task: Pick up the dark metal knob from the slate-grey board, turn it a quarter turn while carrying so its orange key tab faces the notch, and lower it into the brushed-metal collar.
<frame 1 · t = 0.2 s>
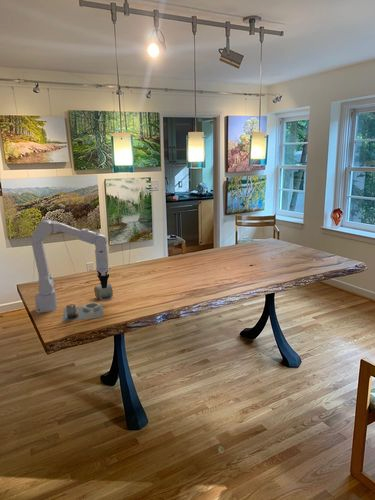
hand: (103, 285, 187), 10 cm above the table, fingers open, 7 cm apart
hub board: (83, 314, 178), on the table
ceramic mug: (105, 298, 198), on the table
knob: (71, 317, 173), point 1 cm above the table, touching hub board
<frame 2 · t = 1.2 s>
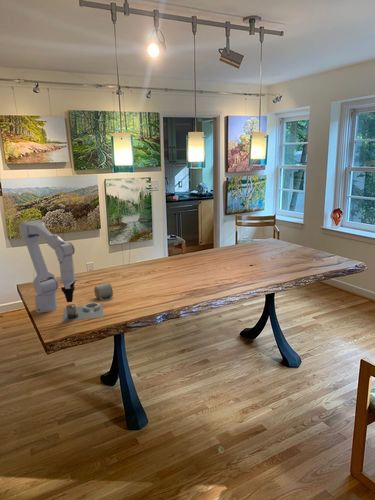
hand: (70, 299, 171), 10 cm above the table, fingers open, 7 cm apart
nothing on the table moved.
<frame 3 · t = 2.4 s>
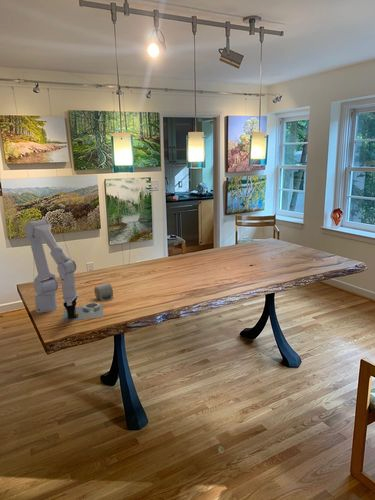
hand: (71, 314, 173), 2 cm above the table, fingers closed on knob, 4 cm apart
knob: (71, 317, 173), point 1 cm above the table, touching gripper, hub board
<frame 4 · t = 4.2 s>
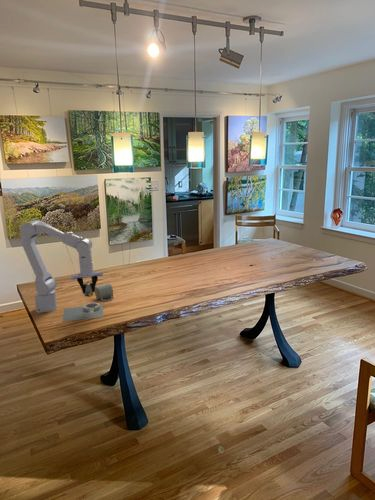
hand: (88, 292, 180), 9 cm above the table, fingers closed on knob, 4 cm apart
knob: (88, 295, 180), point 8 cm above the table, touching gripper
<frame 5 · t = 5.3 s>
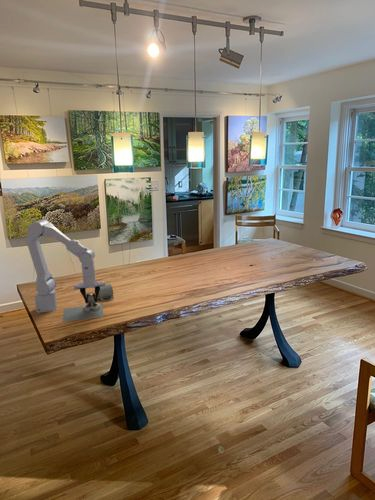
hand: (91, 302, 182), 4 cm above the table, fingers closed on knob, 4 cm apart
knob: (91, 304, 182), point 3 cm above the table, touching gripper
when the fingers open (3 cm above the table, at t = 6.0 s): knob stays where it is, resting on hub board.
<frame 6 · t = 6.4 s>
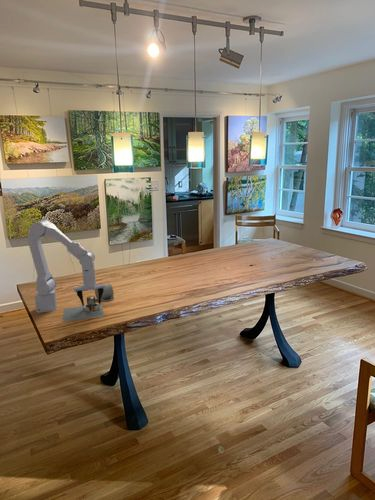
hand: (91, 304, 182), 3 cm above the table, fingers open, 7 cm apart
knob: (91, 308, 183), point 1 cm above the table, touching hub board
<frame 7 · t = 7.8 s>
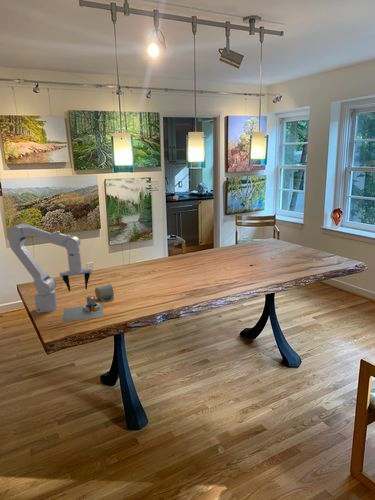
hand: (77, 289, 181), 10 cm above the table, fingers open, 7 cm apart
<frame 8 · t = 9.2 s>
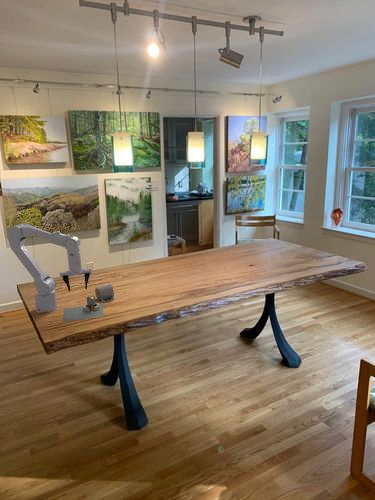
hand: (77, 289, 181), 10 cm above the table, fingers open, 7 cm apart
at the end: knob 0.1 cm from the target spot on the hub board, point 0.8 cm above the hub board's base; knob tilted 0°; the gripper is holding nothing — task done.
